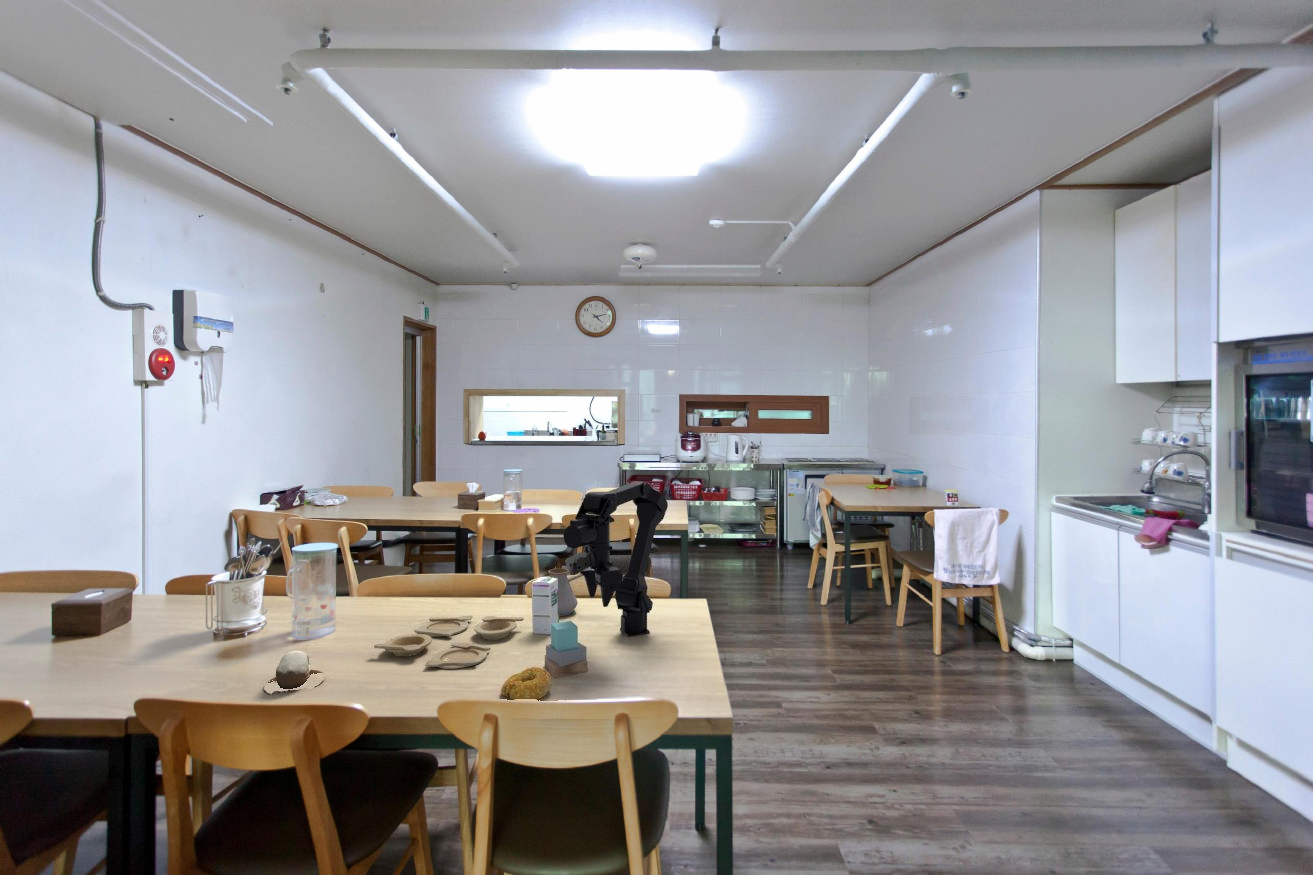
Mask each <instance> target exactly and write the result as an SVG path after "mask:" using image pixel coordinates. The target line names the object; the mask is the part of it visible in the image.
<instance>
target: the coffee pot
mask: <svg viewBox="0 0 1313 875" xmlns="http://www.w3.org/2000/svg"><path fill="white" fill-rule="evenodd" d="M547 573H548V574H549V577H552V578H558V613H559V617H563V616H568V615H571V613H572V612H573V611H574V610H575V609H576V608H577V606H578V603H579V602H578V599H577V597H576V595H575V592H574V590H573V588H572V586H571V583H570V582H572V581H575V580H576V579H579V578H581V577H584V576H583V575H582V574H581V573H579V574H576V575H574V576H572V577H570V578H568V574H569V573H570V572H569V571H568V568H552V569H549V570H548V571H547Z"/></svg>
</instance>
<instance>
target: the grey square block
mask: <svg viewBox="0 0 1313 875" xmlns="http://www.w3.org/2000/svg"><path fill="white" fill-rule="evenodd" d="M545 655H546V658H548V659H549V660H551V661H553V662H554V663H556V664H557V665H559V666H560V667H561V666H565V665H568V664H572V663H575V662H579V661H583V660H587V646H586V645H584V644H582V643H580V642H578V648H572V649H566V650H561V651H557V650H556V649H555V648H554V647H553V646H552V645H551V643H549V644H546V645H545Z"/></svg>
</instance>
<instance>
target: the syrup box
mask: <svg viewBox="0 0 1313 875" xmlns="http://www.w3.org/2000/svg"><path fill="white" fill-rule="evenodd" d="M531 614H532V616H531V617H532V618H531V619H532V633H533V634H538V635H549V636H551V623H558V622H560V621H559V620H560V619H559V618H560V616H559V613H558V578H552V577H550V576H542V577H541V576H540V577H538V578H537V579H536V580H534V581H532V582H531Z"/></svg>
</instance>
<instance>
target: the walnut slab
mask: <svg viewBox="0 0 1313 875" xmlns="http://www.w3.org/2000/svg"><path fill="white" fill-rule="evenodd" d="M544 666H545V667H546V668H547V670H548V671H549V673H550V675H552V677H553V678H560V677H561V678H562V677H566V676H572V675H576V674H581V673H587V672H588V660H587V659H586V660H583V661H579V662H575V663H572V664H568V665H565V666H561V667H560V666H559V665H557V664H556V663H554V662H553V661H551V660H549V659H548V658H546V654H545V655H544Z"/></svg>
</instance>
